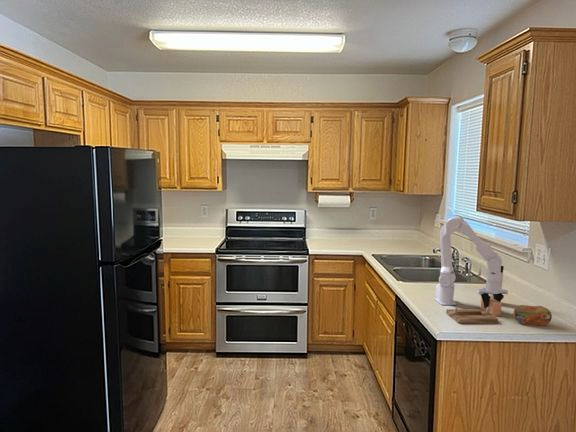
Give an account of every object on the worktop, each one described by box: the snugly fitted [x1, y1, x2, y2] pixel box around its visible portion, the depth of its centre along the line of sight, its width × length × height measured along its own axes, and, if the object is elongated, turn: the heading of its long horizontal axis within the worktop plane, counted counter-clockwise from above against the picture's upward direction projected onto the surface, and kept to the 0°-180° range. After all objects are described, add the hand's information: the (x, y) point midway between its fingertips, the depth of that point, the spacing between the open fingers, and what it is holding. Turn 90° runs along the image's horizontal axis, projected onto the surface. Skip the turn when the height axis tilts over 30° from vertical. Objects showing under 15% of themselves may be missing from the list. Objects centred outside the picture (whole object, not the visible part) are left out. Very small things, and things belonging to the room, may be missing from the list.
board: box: [445, 307, 499, 325], centre depth 186 cm, size 12×18×5 cm, turn 95°
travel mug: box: [488, 265, 505, 299], centre depth 207 cm, size 6×7×20 cm
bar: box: [480, 297, 503, 317], centre depth 195 cm, size 10×4×6 cm, turn 5°
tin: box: [513, 304, 553, 327], centre depth 181 cm, size 15×3×8 cm, turn 81°
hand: (490, 308), depth 195 cm, fingers closed on bar, 4 cm apart
